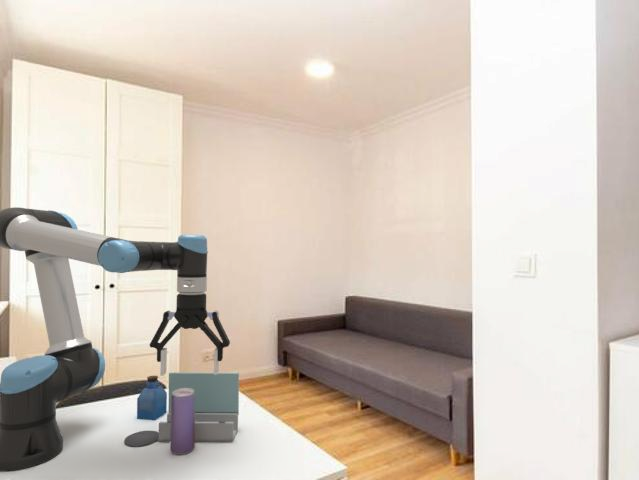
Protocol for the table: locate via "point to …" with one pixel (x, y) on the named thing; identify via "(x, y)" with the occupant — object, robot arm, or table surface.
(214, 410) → the cover
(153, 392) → the perfume bottle
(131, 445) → the coaster
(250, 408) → the table surface
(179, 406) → the beverage can
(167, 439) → the grey rectangular tray
